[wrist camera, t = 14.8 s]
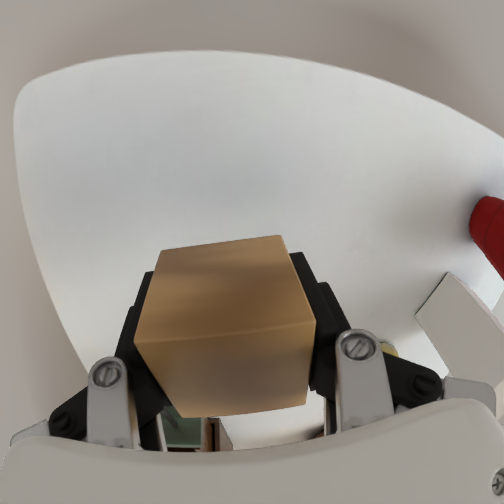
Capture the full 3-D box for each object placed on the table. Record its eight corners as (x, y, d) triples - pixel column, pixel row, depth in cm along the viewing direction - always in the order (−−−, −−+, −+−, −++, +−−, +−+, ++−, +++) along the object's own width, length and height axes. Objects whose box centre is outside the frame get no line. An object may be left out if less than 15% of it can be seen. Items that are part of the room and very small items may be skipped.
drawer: (100, 364, 27) (86, 413, 21) (187, 364, 28) (182, 422, 21) (157, 431, 38) (154, 466, 32) (220, 431, 38) (221, 469, 32)
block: (187, 332, 12) (181, 418, 8) (160, 249, 10) (131, 341, 6) (283, 320, 12) (306, 405, 8) (280, 233, 10) (317, 320, 6)
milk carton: (413, 315, 29) (485, 439, 12) (447, 270, 26) (540, 388, 9) (437, 324, 31) (500, 427, 14) (468, 285, 28) (544, 384, 11)
